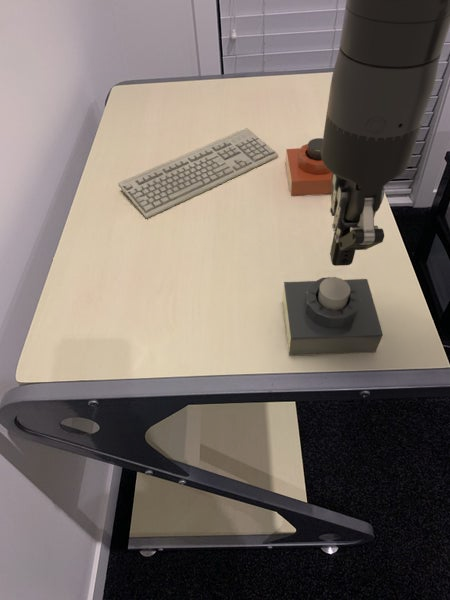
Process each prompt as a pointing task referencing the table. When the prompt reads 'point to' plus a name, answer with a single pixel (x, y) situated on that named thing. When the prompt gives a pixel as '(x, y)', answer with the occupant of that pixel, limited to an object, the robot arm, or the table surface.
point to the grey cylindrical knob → (333, 293)
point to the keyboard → (196, 172)
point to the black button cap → (315, 149)
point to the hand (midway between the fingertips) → (340, 260)
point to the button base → (306, 173)
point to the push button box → (330, 320)
